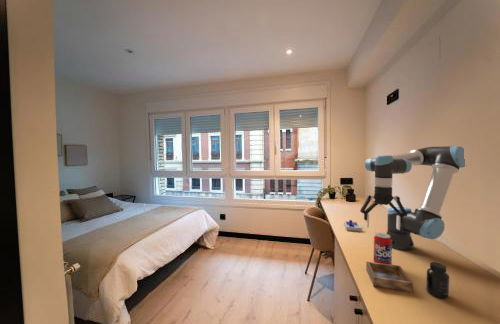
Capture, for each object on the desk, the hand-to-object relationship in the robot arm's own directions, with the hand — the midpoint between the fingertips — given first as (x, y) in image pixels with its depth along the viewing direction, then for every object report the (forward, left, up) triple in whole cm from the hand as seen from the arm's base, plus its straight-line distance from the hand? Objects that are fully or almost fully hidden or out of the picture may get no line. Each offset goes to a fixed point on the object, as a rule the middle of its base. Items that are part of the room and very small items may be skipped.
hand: (382, 227), depth 108 cm
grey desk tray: (+6, -53, -19) cm, 56 cm away
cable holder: (+6, -53, -18) cm, 57 cm away
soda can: (0, 0, -19) cm, 19 cm away
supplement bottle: (-14, +20, -19) cm, 31 cm away
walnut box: (+2, +15, -19) cm, 24 cm away
